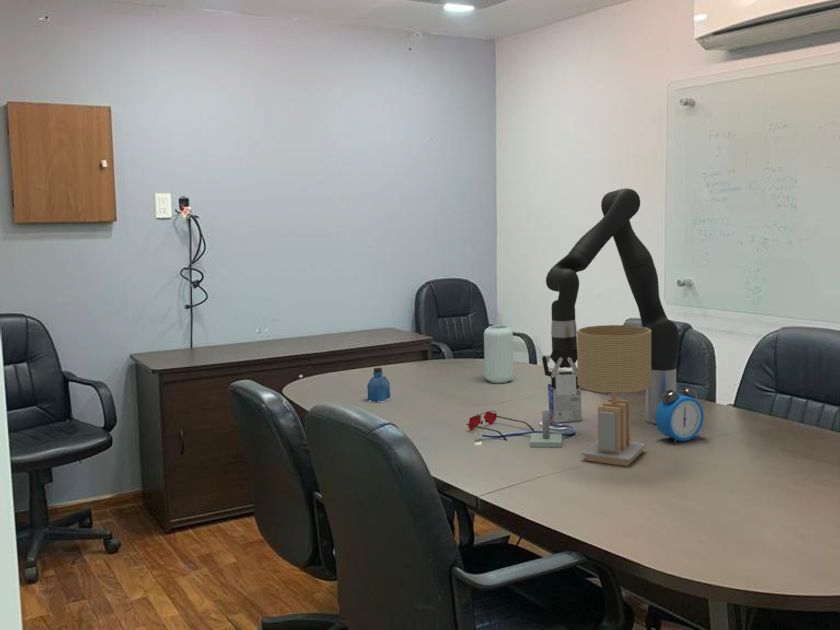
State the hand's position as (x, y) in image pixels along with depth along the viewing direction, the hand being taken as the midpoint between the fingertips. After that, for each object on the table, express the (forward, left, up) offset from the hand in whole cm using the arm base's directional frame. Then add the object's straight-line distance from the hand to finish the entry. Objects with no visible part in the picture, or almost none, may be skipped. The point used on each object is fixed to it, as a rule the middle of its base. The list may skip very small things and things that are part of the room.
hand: (565, 388), depth 243 cm
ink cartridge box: (0, -15, -14) cm, 21 cm away
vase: (+26, -73, -14) cm, 79 cm away
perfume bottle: (+68, -40, -14) cm, 81 cm away
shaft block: (+6, +11, -14) cm, 19 cm away
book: (-11, -65, -14) cm, 67 cm away
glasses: (+20, -1, -15) cm, 25 cm away
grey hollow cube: (0, 0, -1) cm, 1 cm away
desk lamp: (-13, +22, -14) cm, 30 cm away
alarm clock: (-33, +5, -14) cm, 36 cm away
